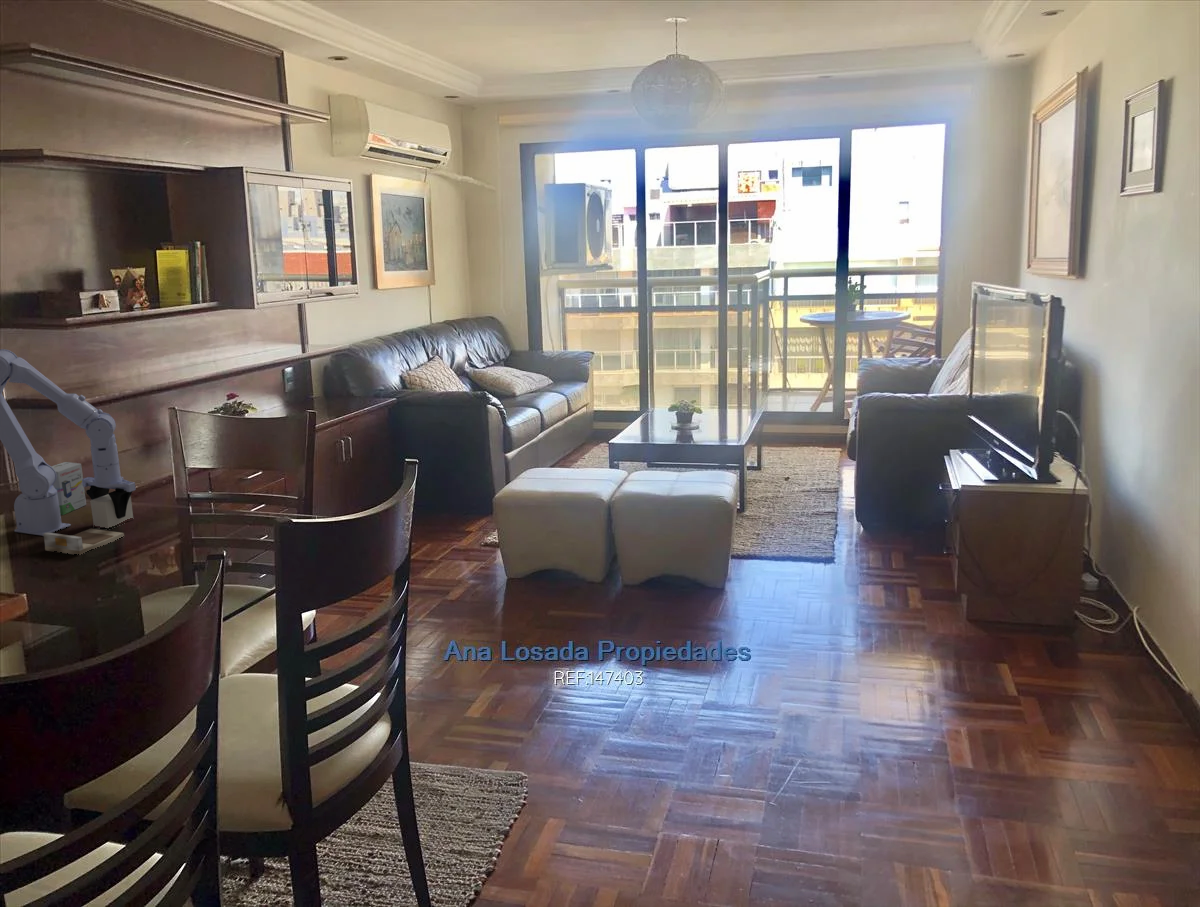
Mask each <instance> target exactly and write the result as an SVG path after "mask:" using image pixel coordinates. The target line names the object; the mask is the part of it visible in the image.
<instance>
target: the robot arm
mask: <svg viewBox="0 0 1200 907" xmlns="http://www.w3.org/2000/svg"><path fill="white" fill-rule="evenodd" d="M7 383H17V384H18V383H19V384H26V385H28V387H30V388H32V389H33V390H35V391H36V392H37V393H39V394H41V395H43V396H44V397H46V398H47V399H49V400H50V401H52V402H53V403H55V404H56V406H57V412H59V413H60V414H61V416H64V417H65V418H67V419H68V420H69V421H70V422H72V423H74V424H75V425H76V426H77V427H79V428H80V429H84V430H85V435H86V437H88V439H89V440H90V454H91V460H92V469H93V476H94V477H92V476H91V477H90V476H87V477H83V479H82V484H83V487H84V488H87V487H89V489H87V490H86V491H85V494H87V496H88V497H89V498H90V500H93V499H96V498H99V497H102V496H105V495H107V494H109V496H110V498H111V499H112V502H113V504H114V508H115V514H116V517H117V518H118V519H120V518H123V517H125V515H126V509H127V504H128V500H129V498H130V496H131V497H132V494H133V492H134V491H136V482H135V481H134V482H133V481H129V480H127V479H124V476H121V468H120V460H119V453H118V451H119V450H118V445H117V443H116V442H117V440H116V436H115V435H116V434H115V430H116V427H117V424H116V420H115V419H114V417H112V415H111V414H110V413H108V412H104V411H103V410H102V409H101V408H99V409H98V408H96V407H95V406H94V405H92V404H91V403H90V402H88V401H87V400H86V396H84V395H83V394H80V395H78V394H77V393H68V392H65V391H64V390H63V389H62V388H61V387H59V386H58V385H57V384H56V383H55V382H53V381H52V380H51V379H50V378H48V377H46V376H45V375H44V374H43V373H41V372H40V371H39V370H38V369H37V368H36V367H34V366H33V365H31V363H29V362H28V361H27V360H26V359H24V358H23V357H21V356H17V355H16V353H15V352H13V351H11V350H10V349H6V348H5V349H4V348H1V349H0V442H1V443H2V445H3V447H4V449H5V450H6V452H7V453H8V455H9V457H10V459H11V461H12V462H13V465H14V473H15V476H17V479H18V487H19V491H20V492H21V493H20V494H18V496H17V497H16V498H15V501H14V503H13V504H14V505H13V508H14V516H15V521H16V528H15V529H14V533H20V534H27V535H36V536H42V537H44V535H43V534H44V533H46V532H48V533H55V531H56V532H58V530H59V531H61V530H63V529H66V527H67V528H69V527H71V525H72V524H71V523H65V522H62V515H60V508H59V501H58V494H57V490H56V489H55V488H54V486H53V484H54V483H55V481H56V478H57V475H56V471H55V470H54V469H53V468H52V467H51V465H50V464H48V463H47V462H46V461H45V459H44V458H43V456H41V455H40V454H39V453H37V451H36V450H35V448H34V447H33V445H32V443H31V441H30V440H29V438H28V436H27V434H26V433H25V431H24V429H23V428H22V425H21V424H20V423H19V421H18V419H17V417H16V415H15V413H14V412H13V410H12V409H11V406H10V405H9V404H8V402H7V400H6V399H5V397H4V395H3V391H4V389H5V387H6V385H7ZM111 489H112V490H113V491H110V490H111ZM60 529H61V530H60Z"/></svg>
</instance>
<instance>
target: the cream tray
mask: <svg viewBox="0 0 1200 907" xmlns="http://www.w3.org/2000/svg"><path fill="white" fill-rule="evenodd" d="M43 535H44V536H43V540H44V550H45V551H47V552H54V551H57V552H56V553H60V552H62V553H61V554H67V553H68V554H69V555H74V554H77V555H76V556H81V554H82V555H84V554H86V553H85V552H87V551H89V550H91V549H94V550H96V549H98V548H97V547H99V548H101V547H103V545H104V546H106V545H109V544H110V542H111V543H113V542H116V541H118V540H120V539H119V538H121V537H123V536H124V537H125V532H120V531H111V530H106V529H99V528H89V529H86V530H83V531H81V532H78V533H75V534H73V535H68V534H61V533H55V532H53V533H48V532H46V533H44V534H43ZM124 537H123V538H124ZM117 539H118V540H117ZM121 539H122V538H121ZM115 540H116V541H115ZM108 543H109V544H108ZM100 546H101V547H100ZM95 548H96V549H95ZM89 552H90V551H89ZM83 553H84V554H83ZM87 553H88V552H87ZM68 554H67V555H68ZM78 554H79V555H78Z"/></svg>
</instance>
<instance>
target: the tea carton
mask: <svg viewBox="0 0 1200 907" xmlns="http://www.w3.org/2000/svg"><path fill="white" fill-rule="evenodd" d="M89 502H90V508H91V515H92V523H93V526H94V525H95V526H100V527H105V528H109V527H112V526H115V525H117V524H119V523H121V522H123V521H125V520H127V519H130V518H133V519H134V514H133V513H134V512H133V505H132V504H133V503H132V495H131V496H130V498H129V500H128V504H127V509H126V515H125V517H123V518H120V519H118V518H117V517H116V514H115V508H114V504H113V502H112V499H111V498H110V496H109V494H107V495H105V496H102V497H99V498H96V499H93V500H92V499H90V501H89Z"/></svg>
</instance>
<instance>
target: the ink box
mask: <svg viewBox="0 0 1200 907" xmlns="http://www.w3.org/2000/svg"><path fill="white" fill-rule="evenodd" d="M50 466H51V465H50ZM51 467H52V468H53V469H54V470H55V471H56V475H57V478H56V481H55V483H54V484H53V486H54V488H55V489H56V490H57V494H58V501H59V508H60V515H61V516H65V515H66V514H69V513H72V512H73V511H76V510H78V509H80V508H82V507H85V506H86V505H87V500H86V491H85V487H83V484H82V479H84V477H83V475H84V474H83V469H82V464H81V463H79V462H78V463H77V462H71V461H63V462H61V463H58V464H54V465H52V466H51Z"/></svg>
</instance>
